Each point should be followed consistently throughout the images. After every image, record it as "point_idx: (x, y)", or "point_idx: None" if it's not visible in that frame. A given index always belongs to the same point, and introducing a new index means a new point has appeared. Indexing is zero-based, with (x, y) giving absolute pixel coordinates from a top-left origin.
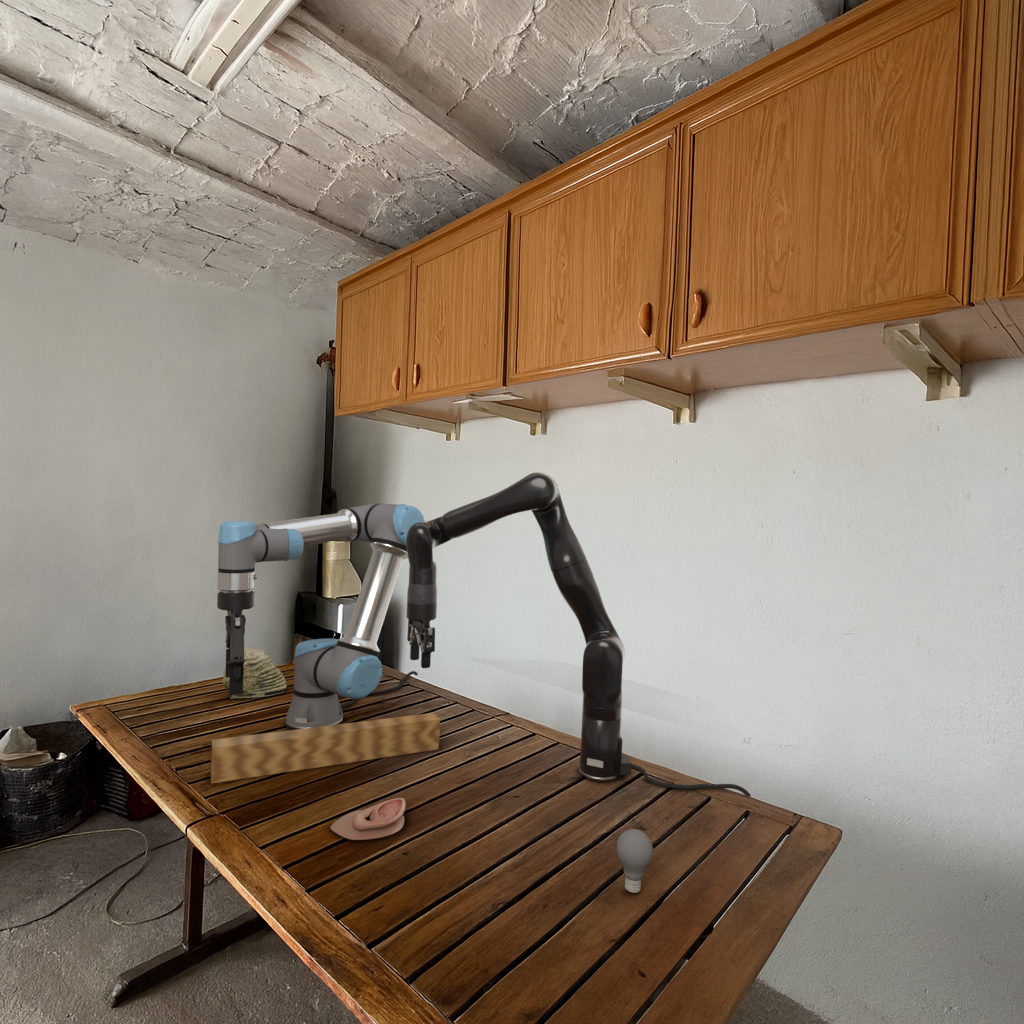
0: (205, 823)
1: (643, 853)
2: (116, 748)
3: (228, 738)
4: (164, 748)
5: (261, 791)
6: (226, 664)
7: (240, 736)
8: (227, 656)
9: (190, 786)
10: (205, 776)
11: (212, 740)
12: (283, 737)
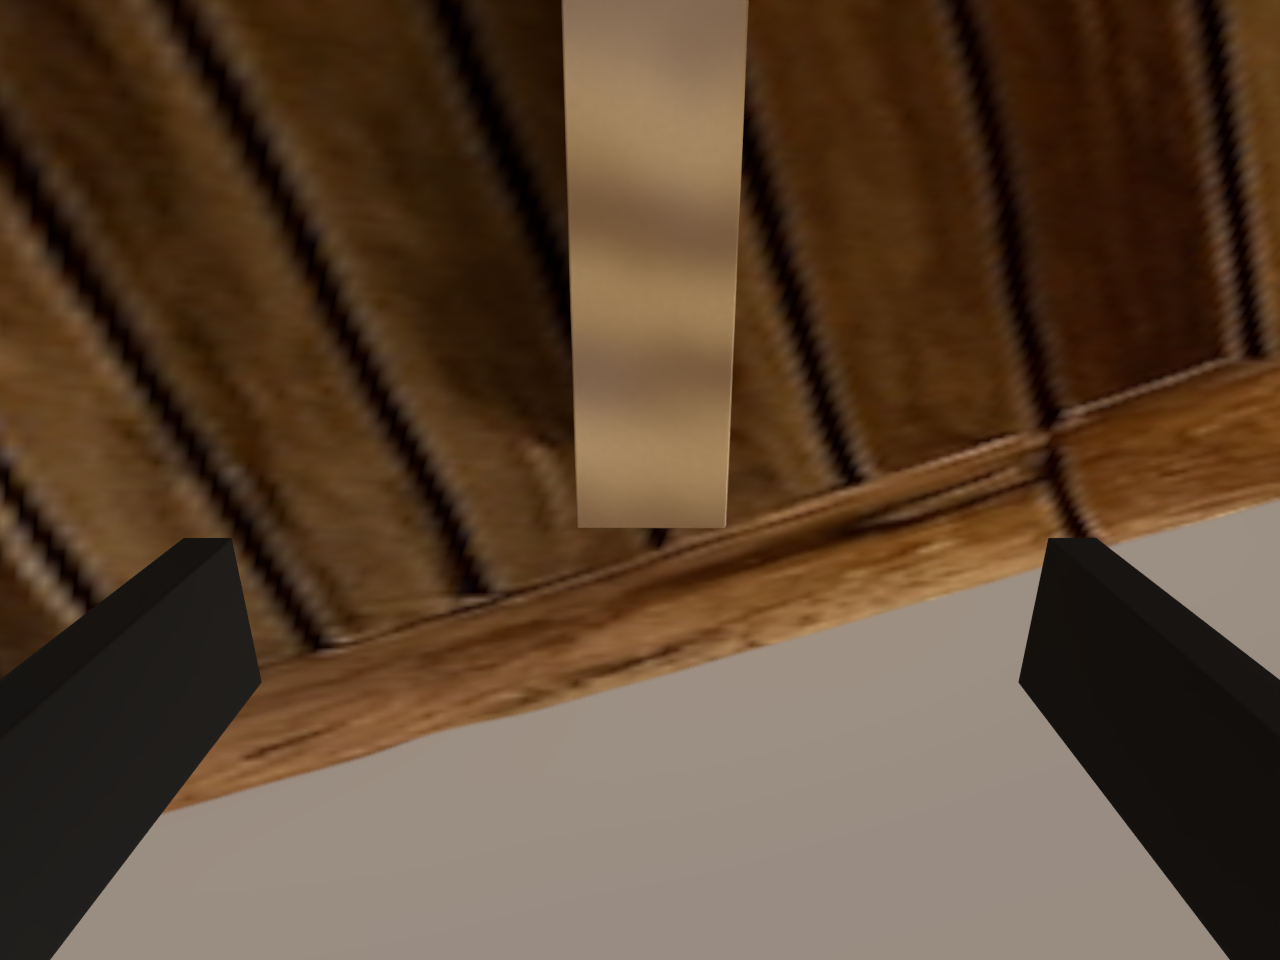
0: (1109, 489)
1: None
2: None
3: (588, 429)
4: None
5: (913, 222)
6: (151, 814)
7: (577, 350)
8: (48, 931)
9: (699, 539)
10: None
11: (594, 523)
12: (717, 24)
